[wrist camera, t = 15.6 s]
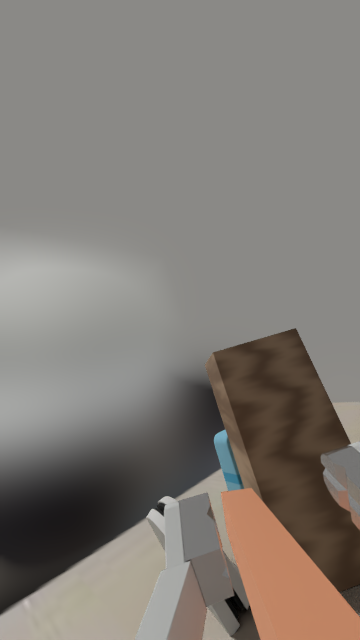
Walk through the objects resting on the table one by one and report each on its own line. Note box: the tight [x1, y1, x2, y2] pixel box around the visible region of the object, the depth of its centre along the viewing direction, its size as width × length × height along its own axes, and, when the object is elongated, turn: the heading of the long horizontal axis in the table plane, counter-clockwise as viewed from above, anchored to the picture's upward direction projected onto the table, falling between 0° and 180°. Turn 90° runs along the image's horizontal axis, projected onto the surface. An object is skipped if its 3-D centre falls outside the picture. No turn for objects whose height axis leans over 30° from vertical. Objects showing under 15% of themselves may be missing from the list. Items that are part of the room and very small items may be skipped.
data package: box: [214, 430, 244, 491], centre depth 47 cm, size 12×4×12 cm, turn 120°
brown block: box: [205, 329, 360, 592], centre depth 32 cm, size 12×14×26 cm
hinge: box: [147, 496, 249, 636], centre depth 29 cm, size 17×5×10 cm, turn 26°
